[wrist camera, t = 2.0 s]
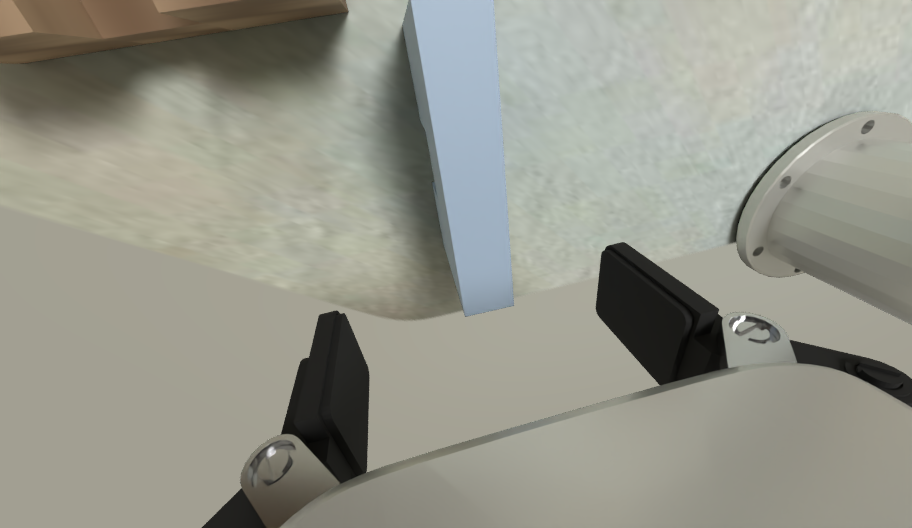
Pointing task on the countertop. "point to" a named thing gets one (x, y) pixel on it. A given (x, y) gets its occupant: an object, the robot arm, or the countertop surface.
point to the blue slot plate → (464, 142)
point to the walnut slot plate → (133, 22)
